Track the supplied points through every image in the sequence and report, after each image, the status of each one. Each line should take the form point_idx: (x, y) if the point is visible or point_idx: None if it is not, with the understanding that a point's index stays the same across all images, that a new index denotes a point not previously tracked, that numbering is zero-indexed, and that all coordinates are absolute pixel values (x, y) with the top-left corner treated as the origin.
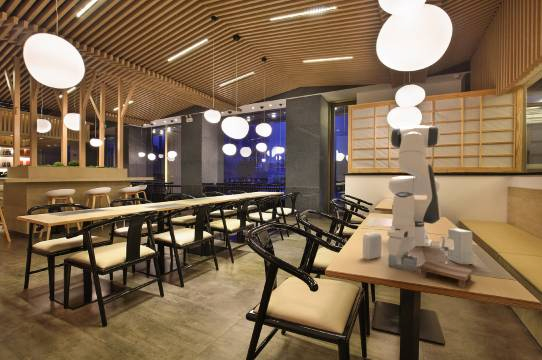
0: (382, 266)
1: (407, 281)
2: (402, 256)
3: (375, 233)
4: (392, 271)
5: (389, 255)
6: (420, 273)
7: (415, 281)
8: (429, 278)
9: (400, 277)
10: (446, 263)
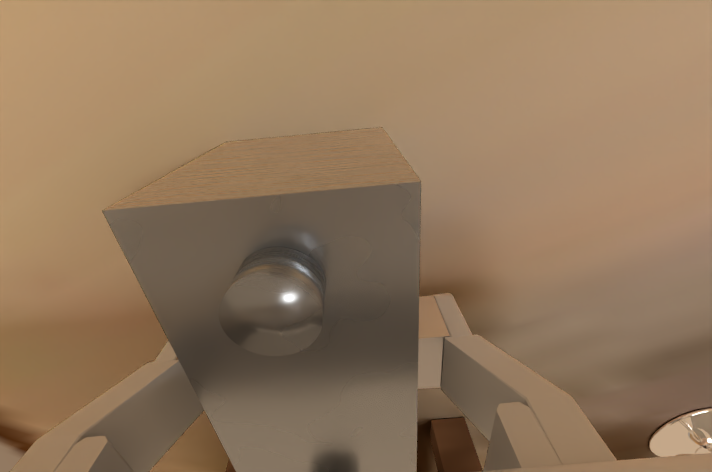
0: (91, 106)
1: (42, 430)
2: (275, 427)
3: None
4: (88, 281)
5: (133, 218)
6: (228, 464)
7: None
8: None
9: (46, 381)
10: (697, 453)
